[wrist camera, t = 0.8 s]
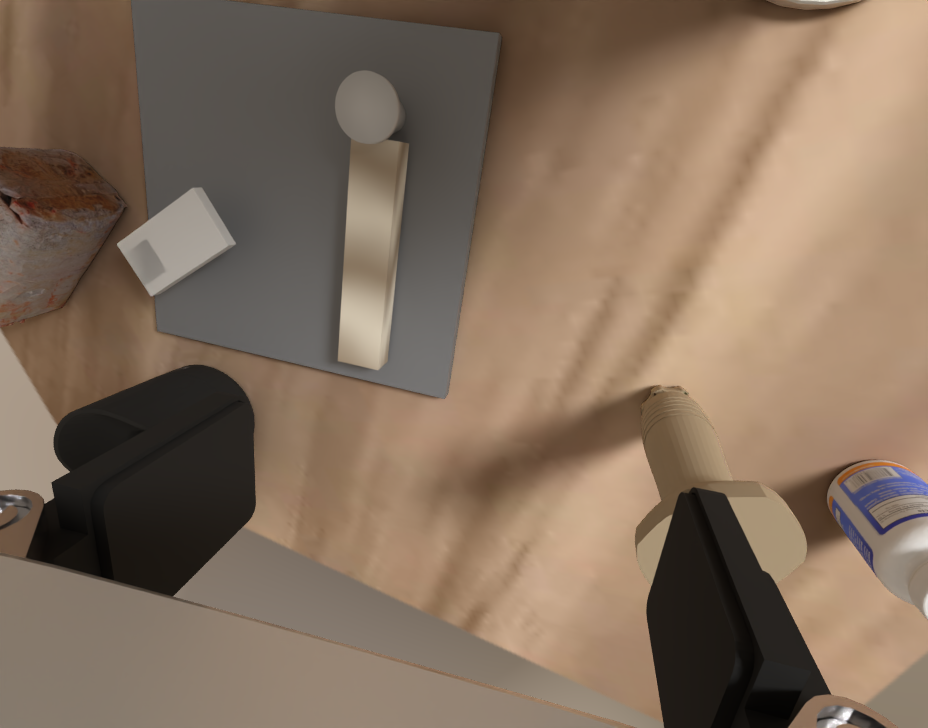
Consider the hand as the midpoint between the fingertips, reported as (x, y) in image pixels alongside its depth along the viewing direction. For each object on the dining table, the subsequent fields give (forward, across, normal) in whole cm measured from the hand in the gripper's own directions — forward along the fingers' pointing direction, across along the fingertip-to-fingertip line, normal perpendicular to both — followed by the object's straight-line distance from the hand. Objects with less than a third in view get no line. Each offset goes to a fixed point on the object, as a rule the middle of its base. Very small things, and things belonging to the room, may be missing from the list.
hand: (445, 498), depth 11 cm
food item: (+26, +38, +1) cm, 46 cm away
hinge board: (+25, +17, -3) cm, 30 cm away
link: (+24, +11, -1) cm, 26 cm away
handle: (+25, -10, +6) cm, 28 cm away
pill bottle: (+25, -24, +10) cm, 36 cm away
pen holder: (+26, +26, +14) cm, 39 cm away
